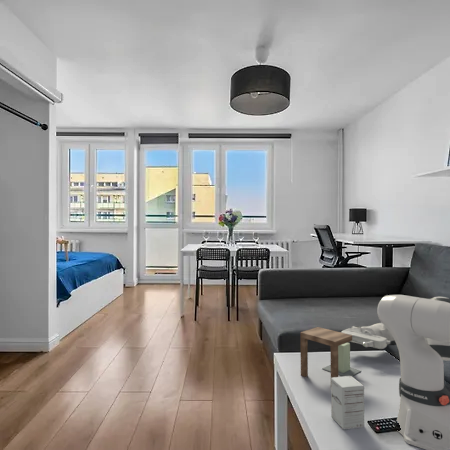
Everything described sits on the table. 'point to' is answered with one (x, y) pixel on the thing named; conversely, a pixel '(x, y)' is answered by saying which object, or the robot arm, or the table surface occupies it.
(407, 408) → the robot arm
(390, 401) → the table surface
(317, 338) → the shelf stand
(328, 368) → the slate mat
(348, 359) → the sage block
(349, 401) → the supplement box
